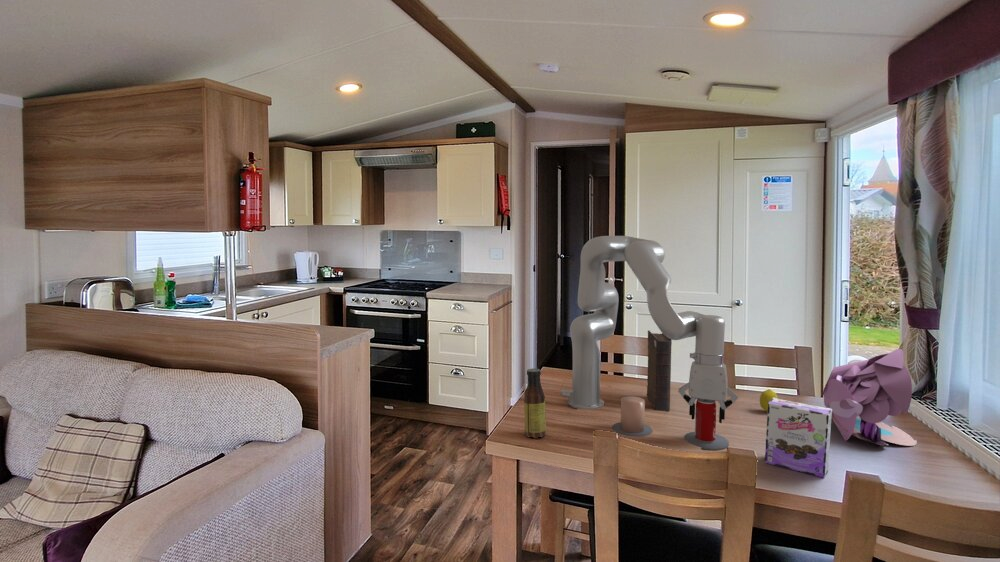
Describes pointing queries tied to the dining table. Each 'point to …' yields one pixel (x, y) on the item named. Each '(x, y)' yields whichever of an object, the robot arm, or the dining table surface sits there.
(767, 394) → the lemon
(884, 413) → the flower arrangement
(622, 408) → the beige rounded cylinder
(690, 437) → the right coaster
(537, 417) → the sauce bottle
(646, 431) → the left coaster
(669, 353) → the book
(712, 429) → the soda can
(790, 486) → the dining table surface
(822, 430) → the candy box
